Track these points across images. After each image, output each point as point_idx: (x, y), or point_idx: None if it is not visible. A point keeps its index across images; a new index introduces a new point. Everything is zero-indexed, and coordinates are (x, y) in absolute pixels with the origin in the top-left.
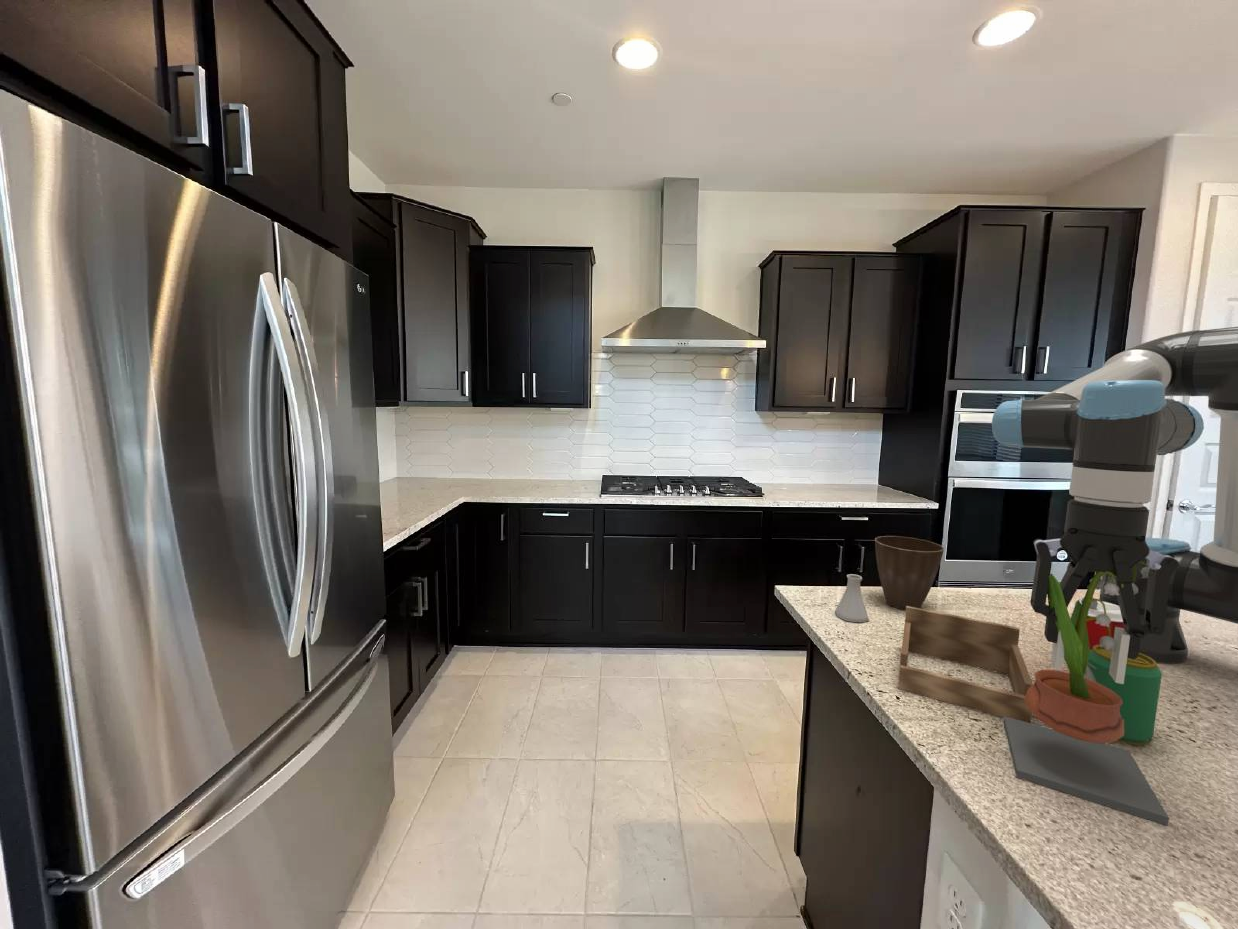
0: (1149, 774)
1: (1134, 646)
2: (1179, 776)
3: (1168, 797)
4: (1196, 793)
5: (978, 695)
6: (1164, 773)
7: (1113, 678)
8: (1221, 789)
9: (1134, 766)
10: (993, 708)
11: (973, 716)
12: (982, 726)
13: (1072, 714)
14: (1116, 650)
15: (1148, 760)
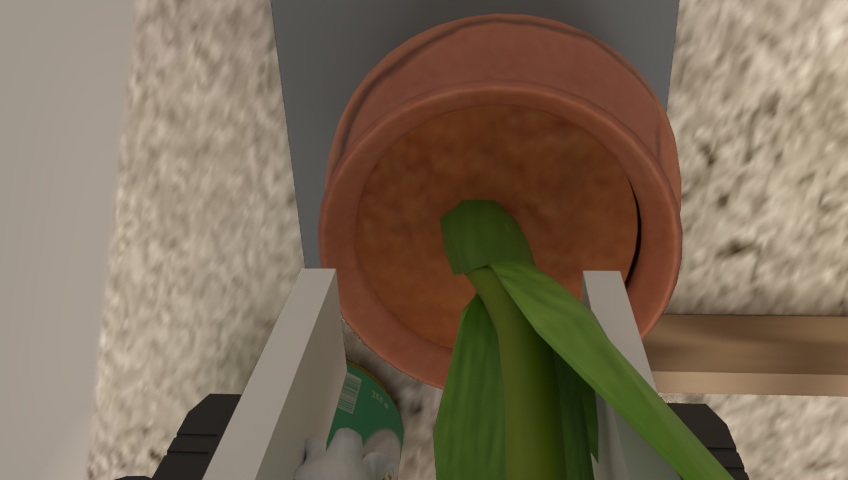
0: (274, 215)
1: (189, 461)
2: (205, 252)
3: (246, 114)
4: (178, 185)
5: (733, 349)
6: (237, 245)
7: (338, 305)
8: (122, 245)
9: (307, 203)
10: (670, 328)
11: (737, 267)
12: (721, 215)
13: (540, 56)
14: (299, 437)
15: (265, 293)
